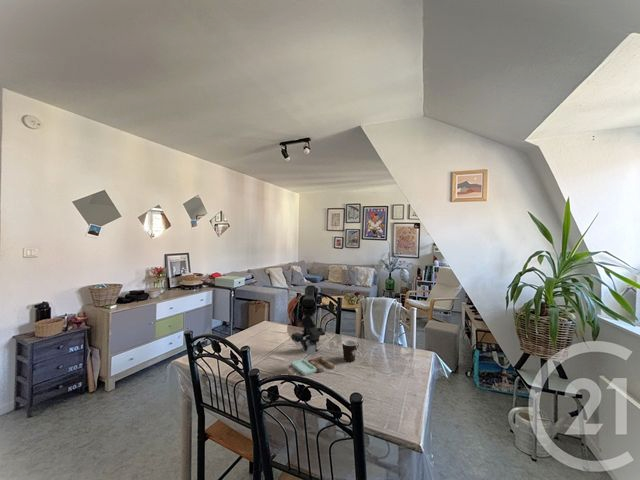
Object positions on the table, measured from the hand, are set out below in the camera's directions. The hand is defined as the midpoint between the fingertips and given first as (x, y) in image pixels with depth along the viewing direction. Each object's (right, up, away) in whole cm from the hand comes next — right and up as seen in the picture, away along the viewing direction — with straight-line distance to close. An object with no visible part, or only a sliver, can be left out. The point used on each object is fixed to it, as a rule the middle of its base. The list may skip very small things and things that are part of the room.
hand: (308, 349), depth 152 cm
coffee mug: (+25, -11, +13) cm, 30 cm away
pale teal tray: (-3, -11, +1) cm, 11 cm away
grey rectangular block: (0, -1, 0) cm, 1 cm away
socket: (+7, -11, +4) cm, 13 cm away
